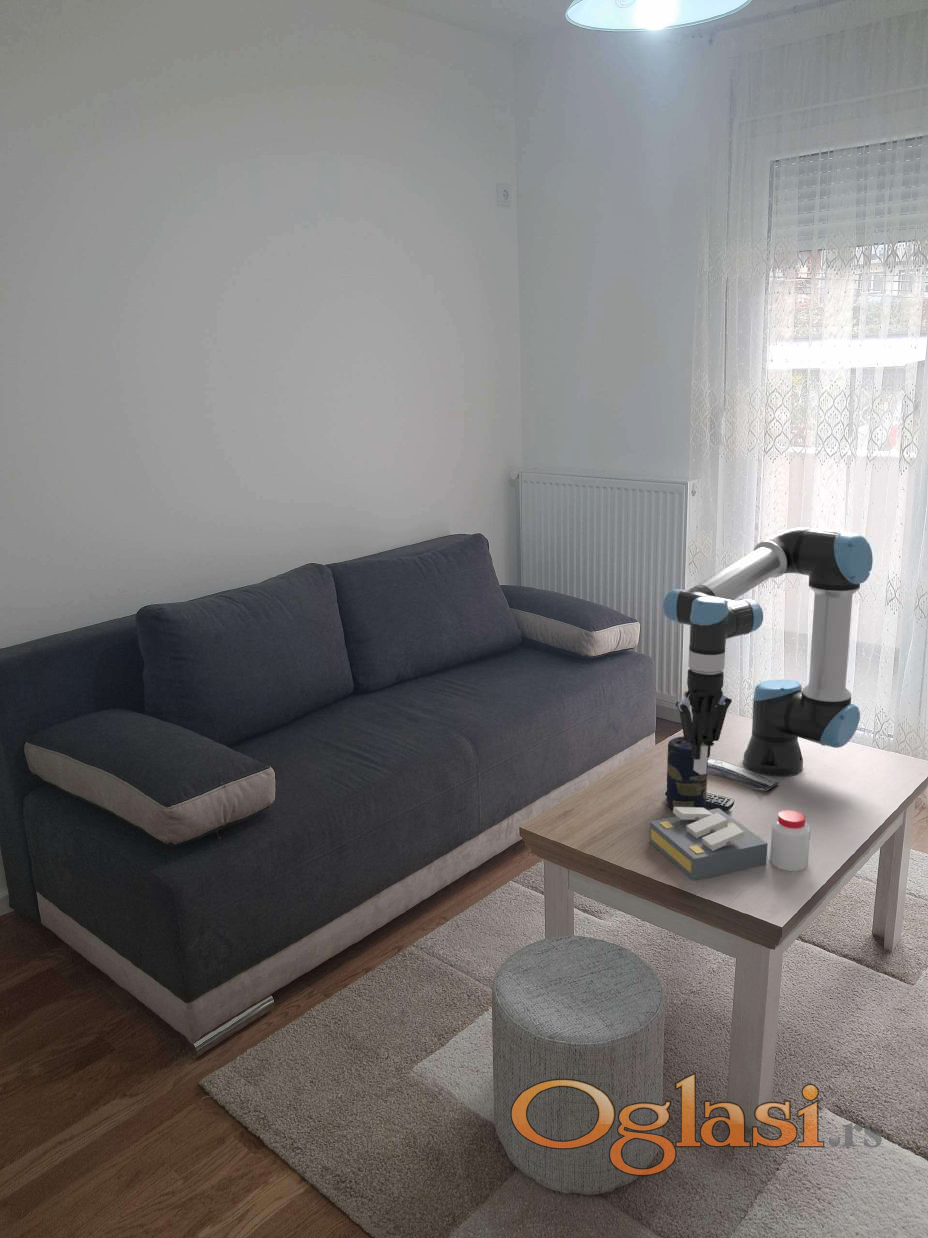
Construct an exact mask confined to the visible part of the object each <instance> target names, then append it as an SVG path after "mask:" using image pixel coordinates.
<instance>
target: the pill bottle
mask: <svg viewBox="0 0 928 1238" xmlns="http://www.w3.org/2000/svg"><path fill="white" fill-rule="evenodd" d="M806 818H807V817H806V815H805V814H804V813H802V812H801V811H799V810H795V809H794V810H793V809H792V810H791V809H786V810H785V809H784V810H780V811H779V812H778V817H777V819H775V820H774V821H773V822H772V826H771V837H770V838H771V839H770V852H769V853H770V854H769V862H770V863H771V864H772V866H773V867H775V868H777V869H779V870H781V871H787V872H802V871H803V870H805V869H807V868H808V866H809V856H810V855H809V854H810V853H809V852H810V840H811V827H810V826H809V824H807V822H806Z"/></svg>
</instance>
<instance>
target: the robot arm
mask: <svg viewBox="0 0 928 1238" xmlns="http://www.w3.org/2000/svg"><path fill="white" fill-rule="evenodd" d="M873 559H874V558H873V552H872V547H871V545H870V542H869V541H868V540H867V539H866V538H865V537H864V536H863V535H861V534H859V533H854V532H853V533H852V532H849V531H845V530H835V529H824V528H815V527H809V526H807V527H806V526H805V527H804V526H802V527H795V528H789V529H787V530H784V531H781V532H778V533H776V534H773V535H771V536H769V537H767V538H765V539H764V540H762V541H760V542H758V543H757V544H756V545H755V547H753V551H751V552H750V553H748V554H747V555H745V556H743V557H741V558H739V559H738V560H736V561H735V562H733V563H731V564H730V565H728V566H727V567H725V568H723V569H722V570H720V571H718V572H717V573H715V574H713V575H712V576H710V577H708V578H706V579H704V580H703V581H702V582H700V583H698V584H696V585H695V586H693V587H691V588H690V589H687V590H685V589H683V588H681V589H678V588H676V589H675V588H674V589H671V590H670V591H668V593H667V594H666V595H665V597H664V600H663V603H662V608H663V613H664V616H665V617H666V618H667V619H668V621H669V620H670V621H672V622H676V623H678V624H681V625H687V626H689V627H690V628H689V647H688V665H687V666H688V668H689V669H687V676H686V677H687V681H686V684H687V685H686V686H687V692H686V693H685V698H684V699H683V700H682V701H676V703H675V707H676V708H677V710H678V712H679V716H680V722H681V729H682V733H683V736H684V740H685V741H686V742H688V743H690V744H691V745H692V758H694V771H696V772H697V773H699V774H700V775H701V774H706V769H707V758H708V759H709V758H710V757H711V748H712V747H714V746H715V742H718V741H719V740H720V737H721V733H722V730H723V726H724V721H725V719H726V716H727V711H728V709H729V707H730V705H731V703H732V702H733V700H732V698H730V697H728V696H727V695H724V692H723V689H722V688H723V687H724V676H725V675H724V674H725V672H724V671H723V670H724V669H725V664H726V662H725V660H726V643H727V639H731V638H735V637H739V636H743V635H744V636H745V635H749V634H751V633H752V632H755V631H757V630H758V629H759V628H760V627H761V626H762V624H763V622H764V612H763V608H762V607H761V605H760V604H759V603H758V602H757V601H756V600H754V599H751V598H740V599H738V598H739V597H741V596H743V595H744V594H746V593H748V592H750V591H751V590H752V589H754V588H755V587H757V586H758V585H760V584H762V583H763V582H765V581H767V580H769V579H770V578H772V579H773V578H779V577H781V576H782V575H785V574H796V575H797V574H798V575H799V574H800V575H804V576H808V587H809V588H810V589H811V590H812V591H813V592H814V600H813V615H812V630H811V631H812V632H811V644H810V659H809V660H810V661H809V676H808V684H807V685H806V686H804V687H803V686H802V684H801V682H799V681H797V680H792V679H771V680H765V681H762V682H760V683H758V684H757V685H756V686H755V688H754V691H753V699H752V702H753V703H752V704H753V706H752V721H751V722H752V723H751V724H752V725H751V735H750V736H751V737H750V738H749V742H748V745H747V748H746V749H745V751H744V753H743V760H742V761H743V765H744V766H745V767H746V768H747V769H749V770H750V771H753V772H755V773H757V774H762V775H766V776H775V777H787V776H793V775H796V774H799V773H800V772H802V771H803V768H804V767H803V766H804V758H803V755H802V751H801V747H800V744H799V738H800V739H803V740H806V741H809V742H812V743H816V744H818V745H821V746H824V747H825V746H826V747H830V748H835V749H837V748H839V749H840V748H842V747H844V746H845V745H847V744H848V743H849V741H851V739H852V738H853V737H854V735H855V734H856V732H857V729H858V727H859V723H860V720H861V719H860V718H861V711H860V708H859V707H858V706H856V705H855V704H854V703H852V692H851V691H850V690H849V689H847V687H846V685H847V672H848V671H847V670H848V661H849V660H848V659H849V648H850V646H849V644H850V635H851V620H852V619H851V617H852V607H853V595H854V594H855V593H856V592H857V591H859V590H860V588H861V584H863V583H865V582H866V581H867V580H868V578H869V577H870V574H871V573H870V572H871V571H872V569H873V564H874V563H873V562H874V561H873ZM737 599H738V600H737ZM690 706H691V707H690ZM690 710H691V712H690ZM691 713H692V714H691Z"/></svg>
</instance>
